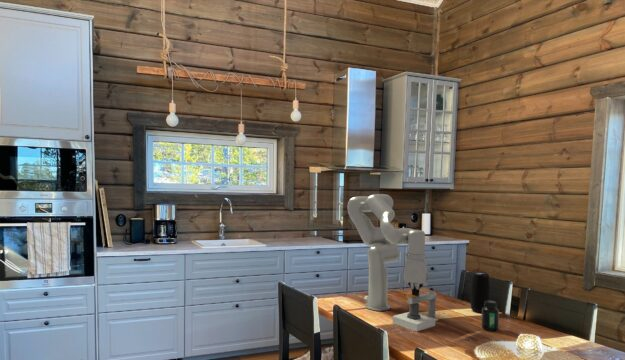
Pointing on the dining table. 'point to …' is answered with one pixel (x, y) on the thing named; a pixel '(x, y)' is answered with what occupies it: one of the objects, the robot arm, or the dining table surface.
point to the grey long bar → (421, 297)
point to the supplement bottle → (490, 316)
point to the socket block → (419, 323)
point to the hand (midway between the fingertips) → (415, 297)
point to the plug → (414, 312)
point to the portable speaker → (479, 290)
